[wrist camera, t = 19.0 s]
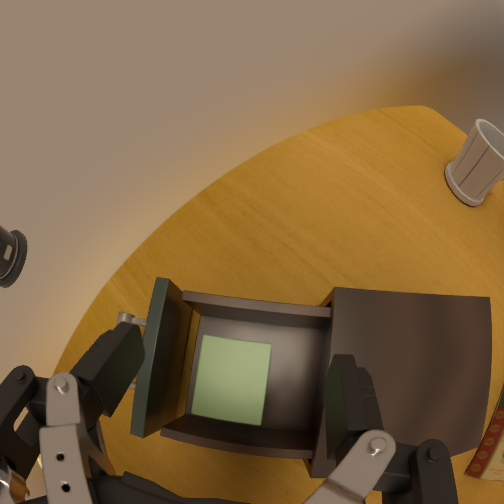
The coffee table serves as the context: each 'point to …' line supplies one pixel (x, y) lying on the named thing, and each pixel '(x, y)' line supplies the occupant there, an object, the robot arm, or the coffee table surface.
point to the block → (231, 379)
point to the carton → (491, 449)
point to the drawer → (241, 328)
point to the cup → (477, 164)
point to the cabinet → (414, 364)
